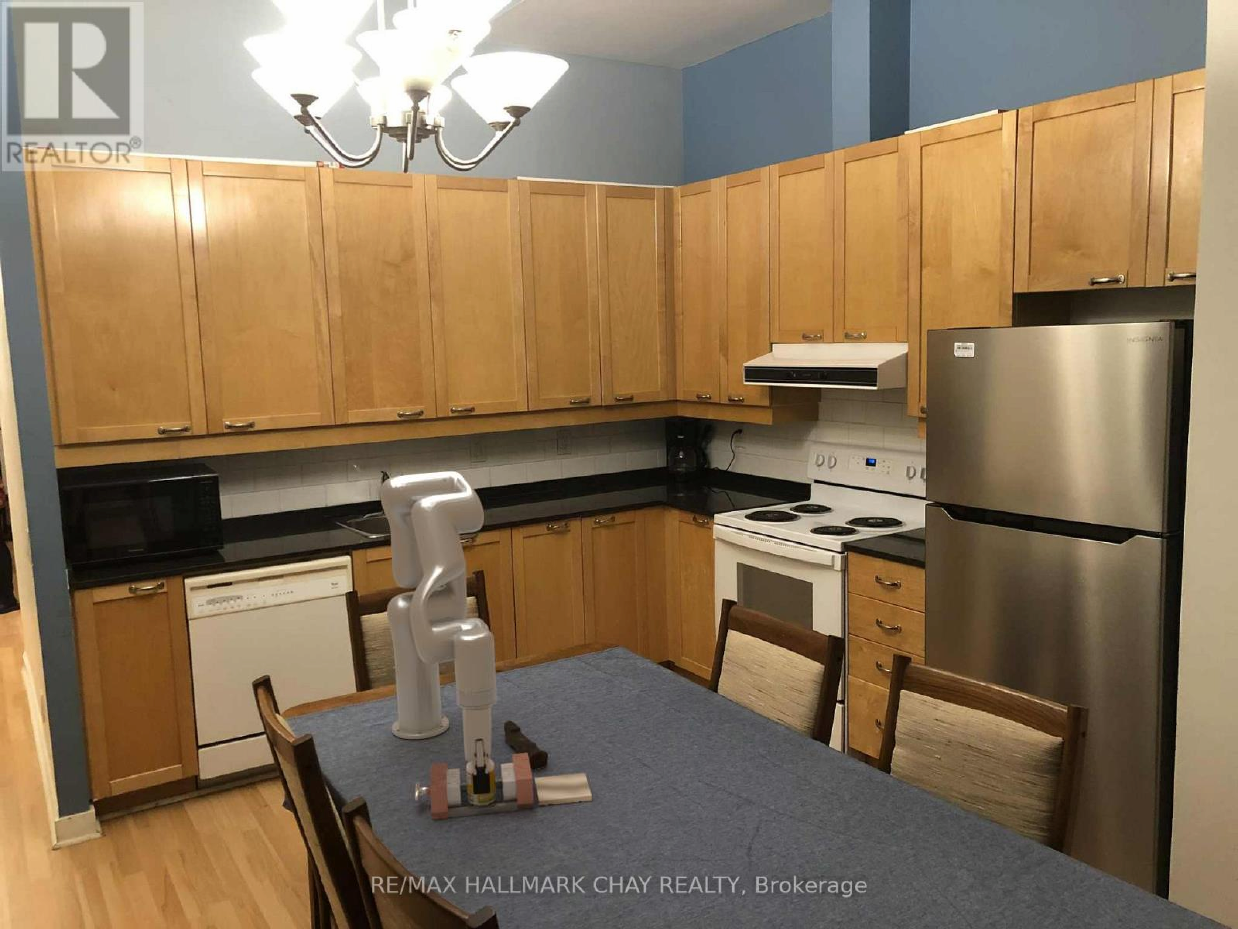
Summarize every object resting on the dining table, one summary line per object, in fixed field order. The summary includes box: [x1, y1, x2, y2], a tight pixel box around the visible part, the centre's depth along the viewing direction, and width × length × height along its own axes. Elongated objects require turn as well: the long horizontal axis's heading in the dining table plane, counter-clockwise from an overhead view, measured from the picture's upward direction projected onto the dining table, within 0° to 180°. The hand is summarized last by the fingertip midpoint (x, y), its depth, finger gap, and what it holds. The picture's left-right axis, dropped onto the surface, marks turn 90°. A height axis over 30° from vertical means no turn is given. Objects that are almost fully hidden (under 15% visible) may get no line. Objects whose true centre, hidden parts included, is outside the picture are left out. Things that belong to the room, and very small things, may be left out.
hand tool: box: [503, 720, 549, 771], centre depth 216 cm, size 19×4×5 cm, turn 25°
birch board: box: [534, 772, 593, 807], centre depth 197 cm, size 10×10×1 cm
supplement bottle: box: [465, 752, 497, 806], centre depth 194 cm, size 5×5×10 cm
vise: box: [414, 753, 535, 820], centre depth 194 cm, size 12×22×6 cm, turn 99°
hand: (481, 785), depth 195 cm, fingers closed on supplement bottle, 5 cm apart
